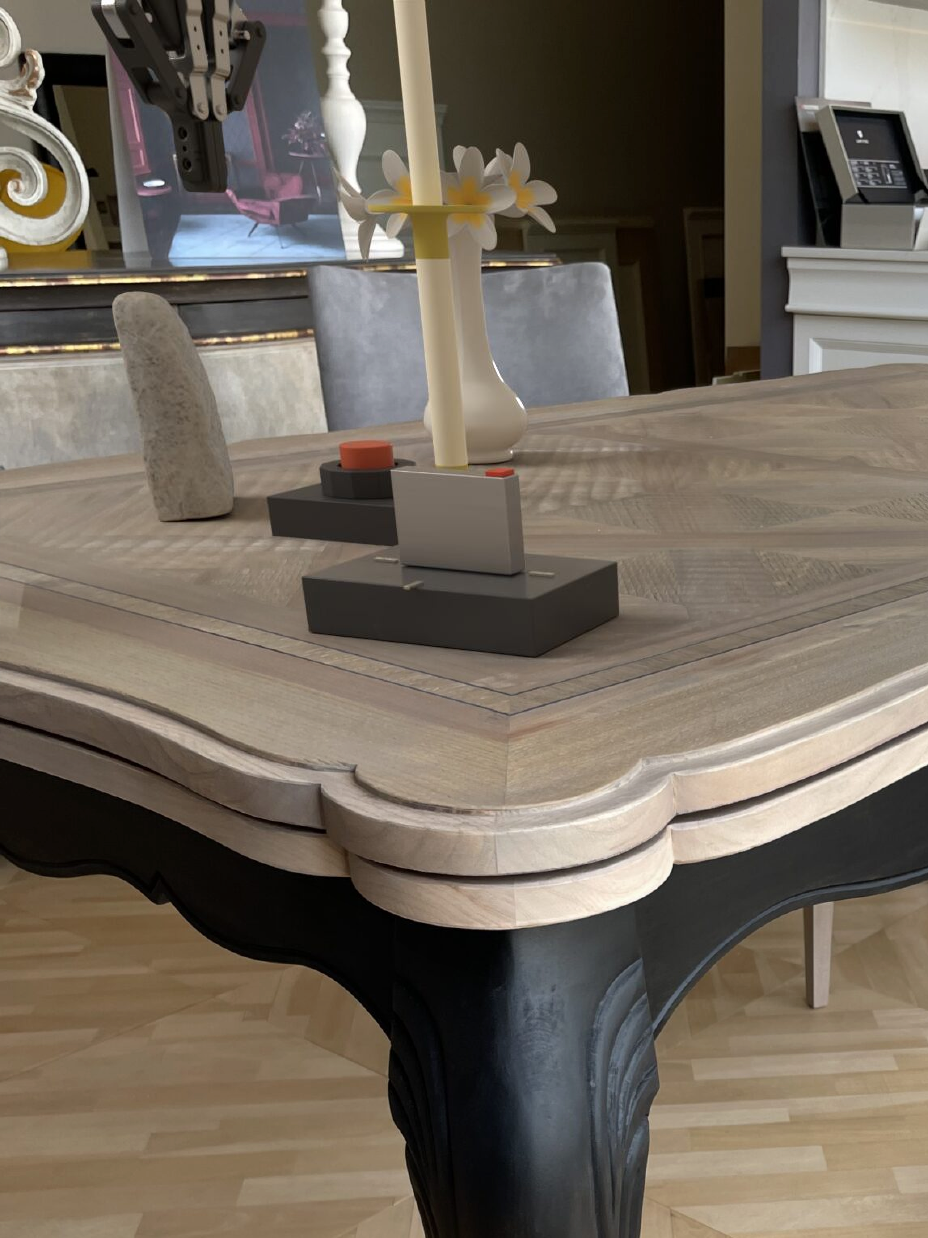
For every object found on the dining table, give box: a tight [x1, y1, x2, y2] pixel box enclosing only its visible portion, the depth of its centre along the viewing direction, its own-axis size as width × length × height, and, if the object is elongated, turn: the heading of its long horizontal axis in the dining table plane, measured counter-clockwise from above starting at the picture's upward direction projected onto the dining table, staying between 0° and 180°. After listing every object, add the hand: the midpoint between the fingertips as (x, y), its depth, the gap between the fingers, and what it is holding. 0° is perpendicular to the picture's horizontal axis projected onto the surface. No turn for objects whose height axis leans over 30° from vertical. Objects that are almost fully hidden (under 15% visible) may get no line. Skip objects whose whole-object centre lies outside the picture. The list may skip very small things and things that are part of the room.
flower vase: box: [332, 141, 558, 465], centre depth 132 cm, size 13×18×25 cm
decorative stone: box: [111, 291, 235, 523], centre depth 111 cm, size 11×6×15 cm, turn 9°
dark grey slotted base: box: [300, 545, 620, 658], centre depth 84 cm, size 14×11×3 cm
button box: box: [266, 457, 417, 547], centre depth 107 cm, size 11×9×4 cm
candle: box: [368, 0, 487, 470], centre depth 111 cm, size 10×10×38 cm
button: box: [338, 439, 395, 469], centre depth 106 cm, size 4×4×2 cm
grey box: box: [391, 465, 525, 575], centre depth 82 cm, size 7×2×5 cm, turn 69°
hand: (205, 192), depth 93 cm, fingers closed
